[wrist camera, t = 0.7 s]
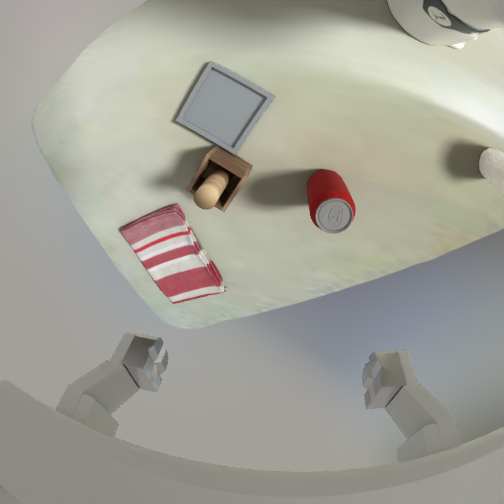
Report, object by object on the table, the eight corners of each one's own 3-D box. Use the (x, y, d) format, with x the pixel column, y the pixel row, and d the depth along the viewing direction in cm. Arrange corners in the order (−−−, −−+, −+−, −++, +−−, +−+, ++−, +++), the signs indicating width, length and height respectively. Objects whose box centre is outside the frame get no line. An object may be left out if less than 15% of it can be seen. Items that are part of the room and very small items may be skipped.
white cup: (505, 157, 34) (533, 174, 26) (491, 187, 39) (518, 208, 31) (485, 137, 34) (515, 152, 26) (471, 170, 38) (499, 190, 30)
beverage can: (302, 198, 48) (304, 231, 38) (311, 163, 44) (318, 188, 34) (337, 207, 48) (348, 242, 38) (348, 174, 44) (364, 201, 34)
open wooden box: (217, 144, 44) (207, 153, 39) (252, 165, 46) (247, 177, 40) (198, 176, 48) (186, 189, 43) (232, 196, 50) (224, 212, 44)
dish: (212, 61, 36) (210, 60, 35) (275, 96, 38) (274, 96, 37) (178, 119, 42) (175, 120, 41) (236, 153, 45) (235, 154, 44)
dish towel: (178, 199, 52) (173, 205, 50) (230, 287, 63) (227, 294, 61) (122, 226, 58) (116, 232, 55) (173, 300, 69) (170, 307, 66)
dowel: (221, 160, 45) (200, 183, 36) (236, 169, 46) (220, 196, 36) (212, 174, 47) (190, 201, 37) (227, 183, 48) (209, 213, 38)
